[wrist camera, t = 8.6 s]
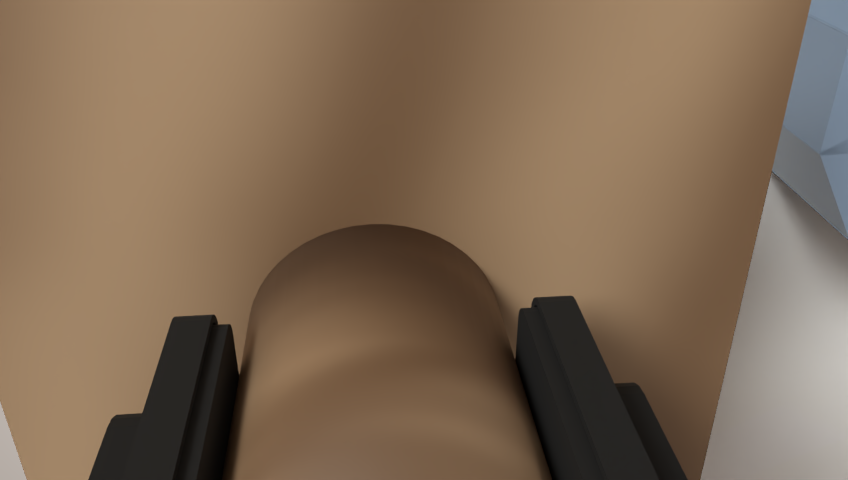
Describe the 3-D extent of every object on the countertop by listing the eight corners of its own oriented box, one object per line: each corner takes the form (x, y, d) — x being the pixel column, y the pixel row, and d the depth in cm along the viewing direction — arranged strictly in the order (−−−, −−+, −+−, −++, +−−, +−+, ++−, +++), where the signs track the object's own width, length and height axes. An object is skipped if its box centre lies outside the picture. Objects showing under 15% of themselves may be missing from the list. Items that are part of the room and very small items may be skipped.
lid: (783, -84, 11) (1333, 71, 5) (660, 512, 17) (844, 923, 11) (-106, -71, 10) (-782, 140, 4) (87, 555, 16) (-69, 1034, 10)
